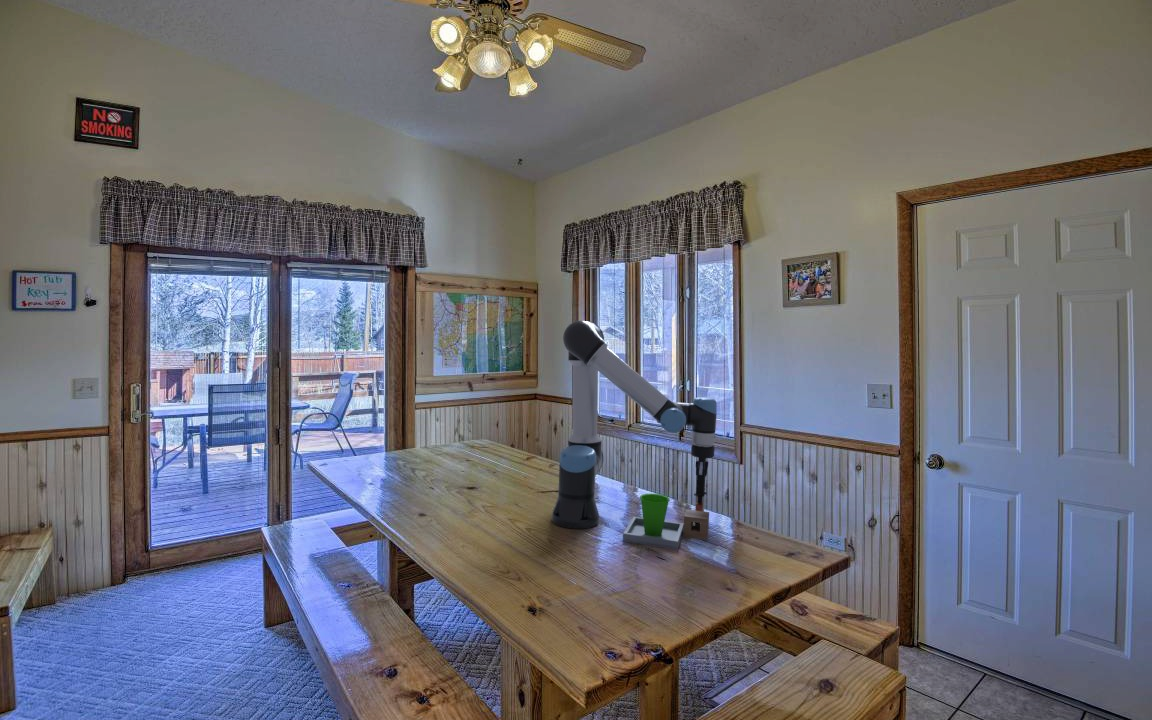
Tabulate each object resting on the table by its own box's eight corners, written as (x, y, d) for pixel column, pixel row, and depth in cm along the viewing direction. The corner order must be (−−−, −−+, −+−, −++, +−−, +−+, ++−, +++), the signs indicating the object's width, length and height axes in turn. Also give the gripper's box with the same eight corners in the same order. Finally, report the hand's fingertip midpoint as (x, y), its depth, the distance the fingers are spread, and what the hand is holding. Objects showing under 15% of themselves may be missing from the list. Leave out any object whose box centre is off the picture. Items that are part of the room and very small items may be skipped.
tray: (622, 541, 160) (623, 533, 160) (633, 523, 175) (633, 516, 175) (677, 549, 155) (678, 541, 155) (683, 530, 170) (683, 523, 170)
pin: (695, 517, 179) (696, 502, 179) (702, 518, 178) (703, 503, 178) (693, 528, 169) (693, 511, 169) (700, 529, 169) (701, 512, 168)
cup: (667, 540, 160) (669, 503, 159) (637, 537, 161) (638, 500, 161) (668, 529, 169) (670, 495, 168) (639, 526, 170) (640, 492, 170)
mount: (685, 529, 172) (686, 509, 171) (708, 532, 169) (709, 512, 169) (683, 536, 165) (684, 516, 165) (706, 540, 163) (707, 519, 162)
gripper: (713, 449, 172) (710, 522, 174) (715, 441, 185) (711, 510, 186) (689, 447, 175) (686, 519, 176) (693, 439, 187) (689, 507, 188)
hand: (699, 514), depth 181 cm, fingers closed
